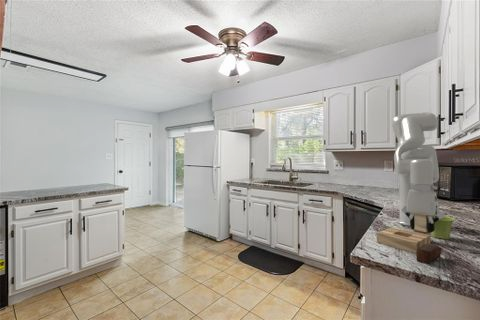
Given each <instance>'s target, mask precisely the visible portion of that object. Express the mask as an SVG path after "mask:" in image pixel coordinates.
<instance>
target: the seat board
mask: <svg viewBox="0 0 480 320" xmlns="http://www.w3.org/2000/svg"><path fill="white" fill-rule="evenodd" d="M431 241H432V240H431V234H430V235H427V234H422V233H417V232H414V230H407V229H402V228H398V227H393V226H391V227H388V228H386V229H383V230H380V231H378V232H376V243H377V244H381V245H384V246H387V247H393V248H396V249H399V250H402V251H406V252H410V253H413V254H416V251H417V248H418V247H420V246H422V245H424V244H426V243H430V244H432V242H431Z"/></svg>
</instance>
